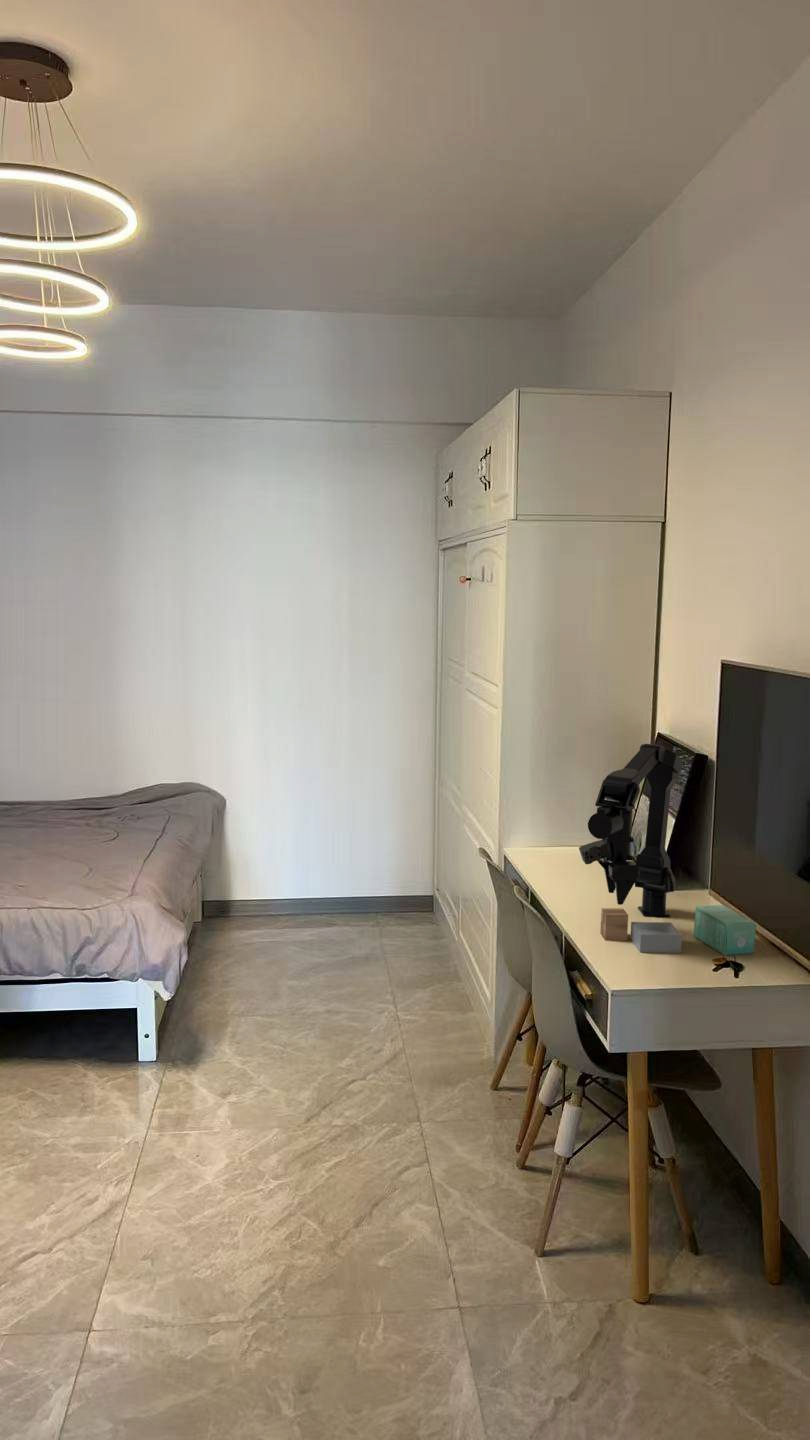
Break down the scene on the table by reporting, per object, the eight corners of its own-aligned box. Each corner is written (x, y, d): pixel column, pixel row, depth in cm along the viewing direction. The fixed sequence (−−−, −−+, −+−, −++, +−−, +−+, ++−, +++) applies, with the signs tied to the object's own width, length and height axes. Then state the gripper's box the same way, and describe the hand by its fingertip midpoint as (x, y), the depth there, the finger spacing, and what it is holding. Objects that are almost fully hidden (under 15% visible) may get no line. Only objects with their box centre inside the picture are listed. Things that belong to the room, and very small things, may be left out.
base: (630, 939, 245) (631, 921, 244) (669, 939, 245) (670, 922, 244) (640, 952, 236) (640, 934, 235) (681, 952, 236) (681, 935, 235)
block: (600, 933, 248) (601, 908, 248) (621, 933, 249) (623, 908, 248) (604, 940, 243) (606, 914, 243) (626, 940, 244) (628, 915, 243)
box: (725, 956, 234) (727, 923, 233) (692, 937, 247) (694, 905, 246) (755, 954, 236) (757, 921, 236) (721, 935, 249) (723, 904, 248)
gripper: (575, 821, 252) (572, 886, 254) (591, 840, 234) (588, 910, 236) (622, 822, 252) (619, 887, 254) (642, 840, 234) (639, 911, 236)
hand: (615, 898), depth 245 cm, fingers open, 9 cm apart
